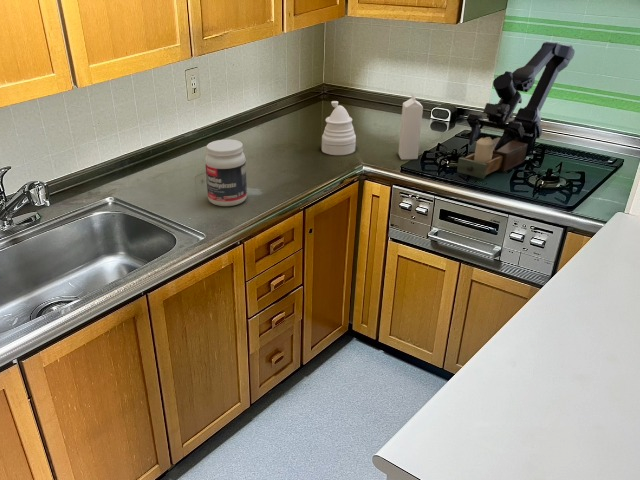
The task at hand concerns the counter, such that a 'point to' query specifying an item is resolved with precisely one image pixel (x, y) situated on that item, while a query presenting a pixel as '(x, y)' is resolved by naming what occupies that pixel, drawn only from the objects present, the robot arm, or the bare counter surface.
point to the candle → (484, 150)
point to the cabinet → (511, 154)
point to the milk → (410, 129)
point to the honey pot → (338, 132)
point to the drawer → (479, 165)
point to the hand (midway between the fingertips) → (482, 147)
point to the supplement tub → (226, 172)
